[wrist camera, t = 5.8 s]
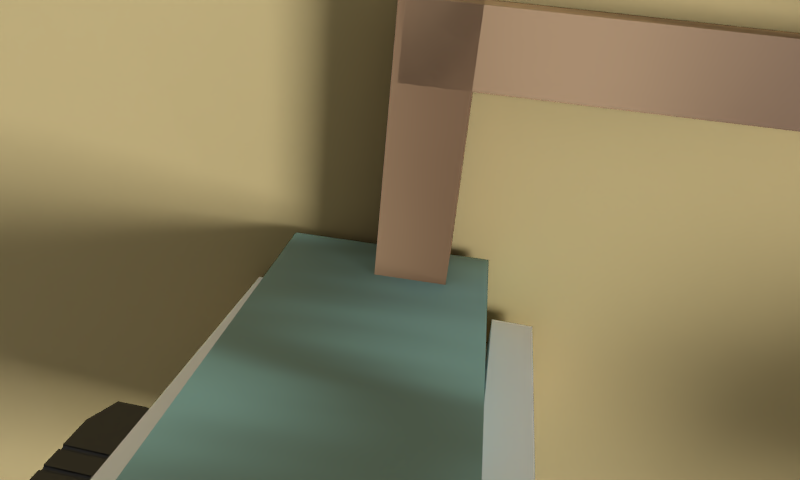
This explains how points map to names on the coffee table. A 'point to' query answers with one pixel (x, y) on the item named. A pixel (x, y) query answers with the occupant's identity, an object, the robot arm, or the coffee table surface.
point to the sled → (432, 249)
